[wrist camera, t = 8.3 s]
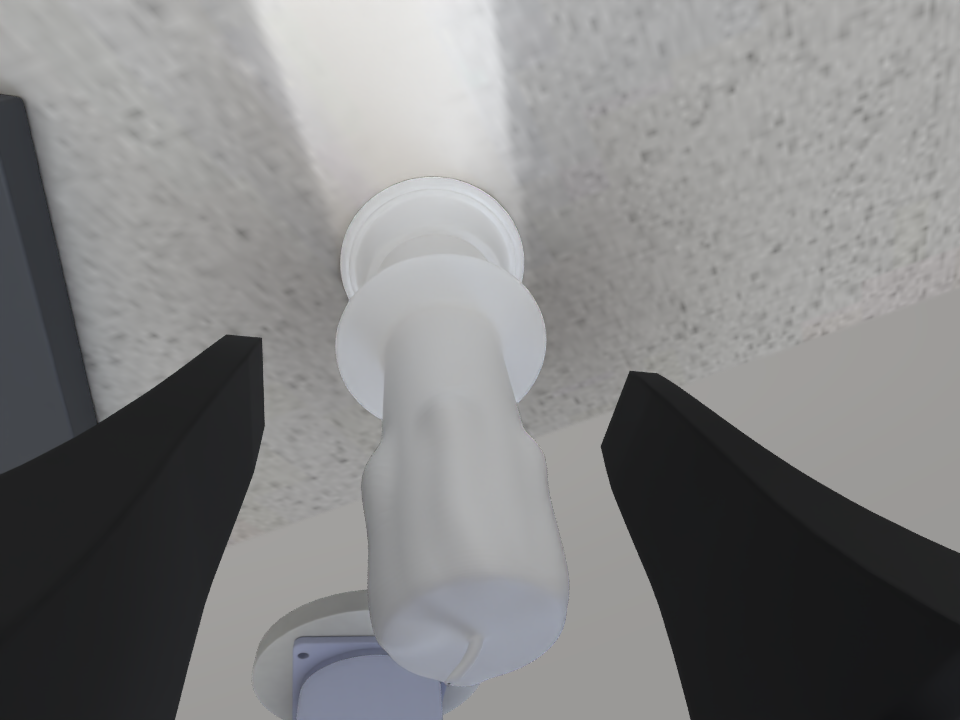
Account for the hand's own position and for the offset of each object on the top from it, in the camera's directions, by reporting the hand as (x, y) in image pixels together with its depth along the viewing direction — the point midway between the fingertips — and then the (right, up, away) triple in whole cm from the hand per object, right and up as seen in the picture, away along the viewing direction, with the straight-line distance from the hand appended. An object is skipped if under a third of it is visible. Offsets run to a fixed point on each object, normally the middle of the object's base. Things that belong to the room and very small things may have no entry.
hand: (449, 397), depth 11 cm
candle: (-1, +4, +6) cm, 7 cm away
